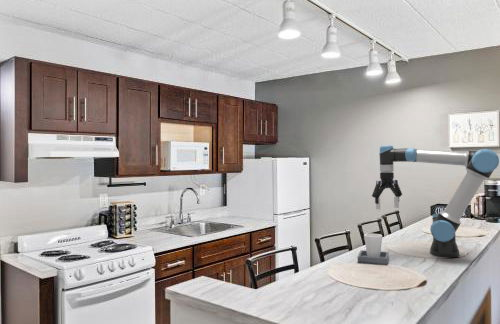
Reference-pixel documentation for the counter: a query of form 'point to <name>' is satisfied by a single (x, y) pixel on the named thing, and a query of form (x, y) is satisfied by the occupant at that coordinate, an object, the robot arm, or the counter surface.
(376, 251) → the foam cup
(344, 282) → the counter surface
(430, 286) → the counter surface
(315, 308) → the counter surface
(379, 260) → the bin
